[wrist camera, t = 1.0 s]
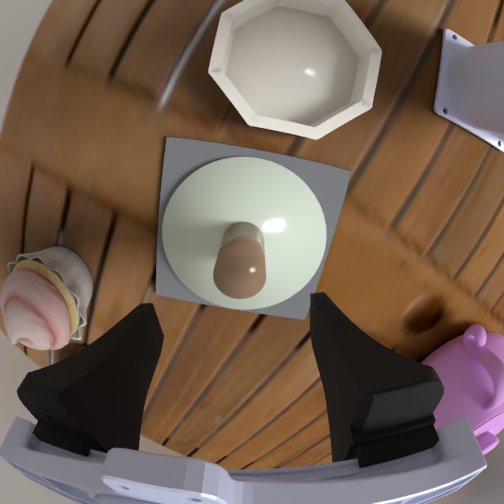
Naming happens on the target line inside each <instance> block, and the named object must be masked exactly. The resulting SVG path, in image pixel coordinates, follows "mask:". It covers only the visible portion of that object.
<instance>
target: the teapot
mask: <svg viewBox="0 0 504 504" xmlns="http://www.w3.org/2000/svg"><path fill="white" fill-rule="evenodd" d="M421 363H422V364H425V365H428V366H431V367H433V368H434V370H435V371H436V373H437V374H438V376H439V378H440V380H441V382H442V384H443V386H444V394H443V397H442V399H441V401H440V403H439V404H438V406H437V408H436V409H435V411H434V412H433V414H434V417H435V419H436V422H435V424H433V425H434V427H435V430H437V429H439V428H440V427H442V426H444V425H446V424H449V423H452V422H454V421H457V420H459V419H462V418H464V417H467V419H468V421H469V423H470V425H471V428H472V430H473V432H474V434H475V437H476V439H477V441H478V443H479V446H480V448H481V451H482V453H483V455H484V454H486V453H488V452H489V451H490V450H492V449H493V448H494V447H495V446H496V445H497V444H498V443H499V439H498V438H497V437H496V436H495V435H496V434H498V433H499V432H500V431H501V430H502V429H503V428H504V337H503V336H502V335H500V334H498V333H496V332H492V331H485V329H484V328H483V326H481V325H479V324H474V325H472V326H470V327H469V328H468V329H467V330H466V331H465V333H464V334H463V335H461V336H458V337H456V338H454V339H452V340H450V341H449V342H447V343H445V344H444V345H442V346H441V347H439V348H438V349H437V350H435V351H434V352H433V353H431V354H430V355H429V356H428V357H427V358H426V359H424V360H423V361H422V362H421Z"/></svg>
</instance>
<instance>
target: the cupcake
mask: <svg viewBox="0 0 504 504" xmlns="http://www.w3.org/2000/svg"><path fill="white" fill-rule="evenodd" d="M7 265H8V272H9V276H8V277H7V279H6V280H5V282H4V284H3V286H2V289H1V295H0V306H1V312H2V316H3V319H4V324H5V329H6V333H7V335H8V337H9V340H10V342H11V343H12V344H16V343H18V342H20V343H22V344H24V345H25V346H28V347H30V348H34V349H38V350H47V349H50V350H57V349H60V348H63V347H64V346H65V345H67V344H68V343H69V340H70V339H76V340H81V335H82V327H83V326H85V325H86V323H87V321H86V309H87V307H88V304H89V301H90V299H91V296H92V291H93V281H92V277H91V274H90V271H89V269H88V267H87V265H86V264H85V262H84V261H83V260H82V259H81V258H80V257H79V256H78V255H77V254H76V253H75V252H74V251H72V250H70V249H68V248H65V247H62V246H54V247H50V248H48V249H45V250H42V251H38V252H35V253H26V254H19V255H18V256H16V261H14V262H10V263H8V264H7Z"/></svg>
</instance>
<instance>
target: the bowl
mask: <svg viewBox="0 0 504 504" xmlns="http://www.w3.org/2000/svg"><path fill="white" fill-rule="evenodd" d="M381 55H382V50H381V48H380V47H379V45H378V44H377V42H376V41H375V39H374V38H373V37H372V35H371V34H370V32H369V31H368V29H367V28H366V27H365V25H364V24H363V23H362V21H361V20H360V19H359V17H358V16H357V15H356V13H355V12H354V11H353V10H352V8H351V7H350V6H349V5H348V3H347V2H346V1H345V0H244V1H242V2H240V3H238V4H236V5H235V6H233V7H231V8H229V9H228V10H226V11H224V12H222V13H221V17H220V21H219V25H218V29H217V34H216V38H215V42H214V47H213V51H212V56H211V60H210V65H209V70H208V73H209V74H210V75H211V76H212V78H213V79H214V80H215V82H216V83H217V84H218V85H219V87H220V88H221V89H222V91H223V92H224V93H225V95H226V96H227V97H228V98H229V100H230V101H231V102H232V104H233V105H234V106H235V108H236V109H237V110H238V112H239V113H240V115H241V116H242V117H243V119H244V120H245V121H246V123H247V124H248V125H249V126H255V127H260V128H266V129H271V130H276V131H281V132H285V133H290V134H295V135H299V136H303V137H308V138H312V139H316V140H318V139H319V138H321V137H323V136H324V135H326V134H328V133H329V132H331V131H333V130H334V129H336V128H338V127H340V126H341V125H343V124H345V123H347V122H348V121H350V120H352V119H353V118H355V117H357V116H359V115H361V114H362V113H364V112H366V111H368V110H369V109H371V108H372V104H373V99H374V94H375V89H376V84H377V78H378V73H379V67H380V61H381Z"/></svg>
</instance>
